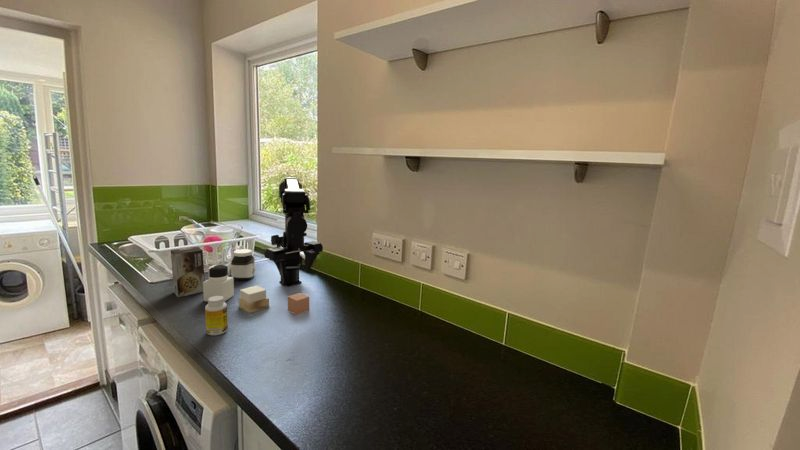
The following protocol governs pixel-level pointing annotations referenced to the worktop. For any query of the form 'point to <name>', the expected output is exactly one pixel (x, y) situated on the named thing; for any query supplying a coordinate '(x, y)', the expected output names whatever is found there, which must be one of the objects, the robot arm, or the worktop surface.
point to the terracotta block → (298, 303)
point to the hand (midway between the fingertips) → (295, 275)
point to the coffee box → (187, 271)
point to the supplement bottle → (216, 316)
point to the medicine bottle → (218, 283)
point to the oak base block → (254, 305)
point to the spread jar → (242, 265)
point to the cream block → (253, 294)
